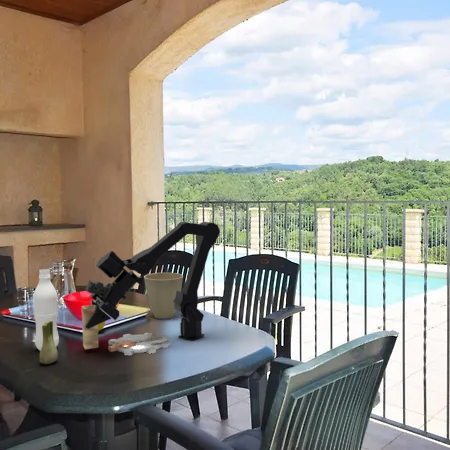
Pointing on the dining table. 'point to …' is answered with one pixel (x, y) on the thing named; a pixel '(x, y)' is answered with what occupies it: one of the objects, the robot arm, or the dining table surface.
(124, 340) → the sprocket plate
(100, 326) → the lemon
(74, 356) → the dining table surface
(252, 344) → the dining table surface
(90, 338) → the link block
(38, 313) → the water bottle
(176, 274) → the plant pot
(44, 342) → the fennel bulb
